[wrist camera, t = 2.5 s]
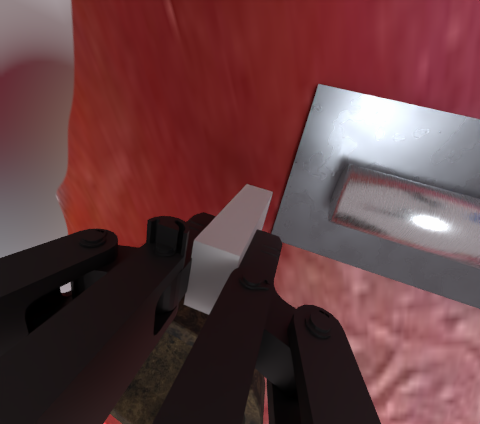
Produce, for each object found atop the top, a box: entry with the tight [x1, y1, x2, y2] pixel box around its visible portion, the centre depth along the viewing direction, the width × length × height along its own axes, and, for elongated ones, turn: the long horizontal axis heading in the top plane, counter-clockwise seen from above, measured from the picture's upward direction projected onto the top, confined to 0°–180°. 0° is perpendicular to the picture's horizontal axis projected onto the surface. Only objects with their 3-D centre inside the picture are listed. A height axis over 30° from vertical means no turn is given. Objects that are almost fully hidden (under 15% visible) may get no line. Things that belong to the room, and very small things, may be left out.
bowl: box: [110, 295, 265, 424], centre depth 29 cm, size 22×22×10 cm
